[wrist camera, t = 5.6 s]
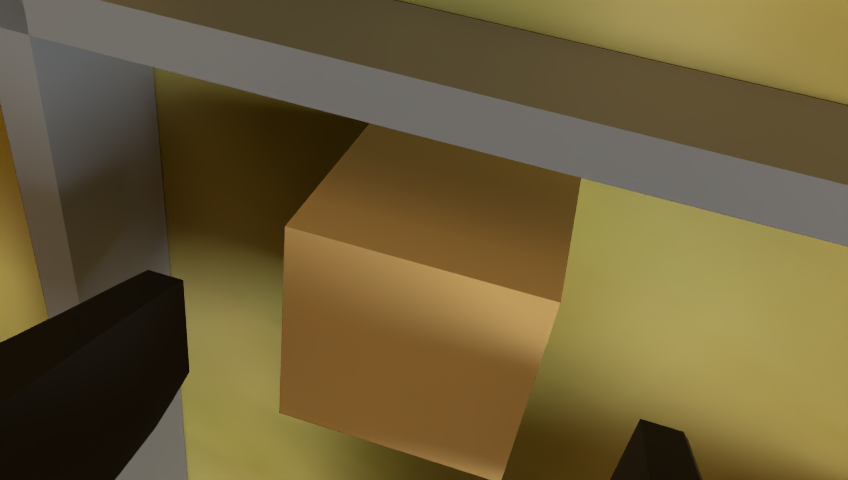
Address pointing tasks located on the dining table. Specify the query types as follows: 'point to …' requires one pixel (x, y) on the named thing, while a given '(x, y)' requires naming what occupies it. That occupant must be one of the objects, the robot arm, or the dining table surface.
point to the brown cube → (423, 296)
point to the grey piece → (376, 123)
